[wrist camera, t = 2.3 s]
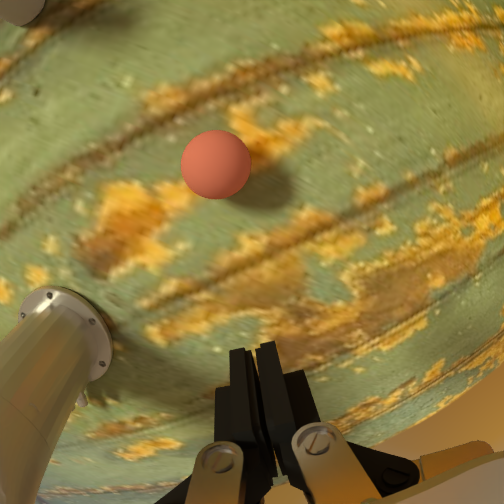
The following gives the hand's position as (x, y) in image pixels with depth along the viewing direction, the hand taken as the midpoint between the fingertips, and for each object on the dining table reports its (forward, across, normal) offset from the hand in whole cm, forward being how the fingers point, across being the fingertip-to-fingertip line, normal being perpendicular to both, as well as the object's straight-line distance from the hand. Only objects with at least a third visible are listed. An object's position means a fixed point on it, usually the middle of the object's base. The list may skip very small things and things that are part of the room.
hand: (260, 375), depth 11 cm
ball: (+16, 0, -7) cm, 18 cm away
